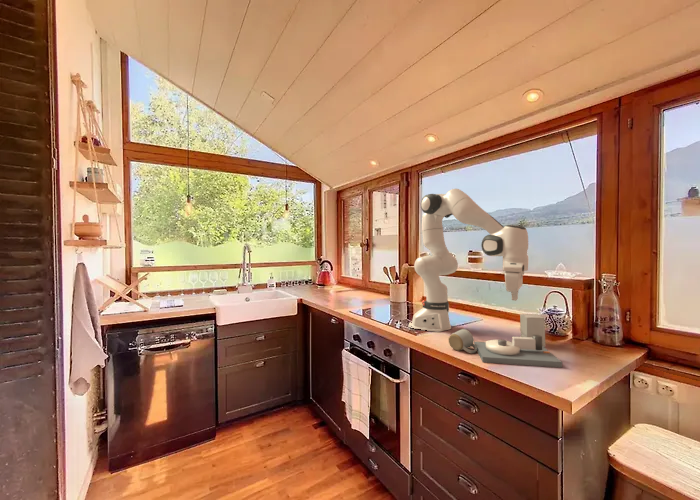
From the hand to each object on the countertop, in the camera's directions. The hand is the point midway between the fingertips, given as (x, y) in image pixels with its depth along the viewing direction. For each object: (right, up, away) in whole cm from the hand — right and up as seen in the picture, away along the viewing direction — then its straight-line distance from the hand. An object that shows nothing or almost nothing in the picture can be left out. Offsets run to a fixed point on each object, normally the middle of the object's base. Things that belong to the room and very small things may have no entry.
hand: (514, 299), depth 115 cm
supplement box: (+14, -22, +11) cm, 28 cm away
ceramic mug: (-18, -22, +7) cm, 29 cm away
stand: (-1, -22, -2) cm, 22 cm away
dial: (-1, -20, -2) cm, 20 cm away
